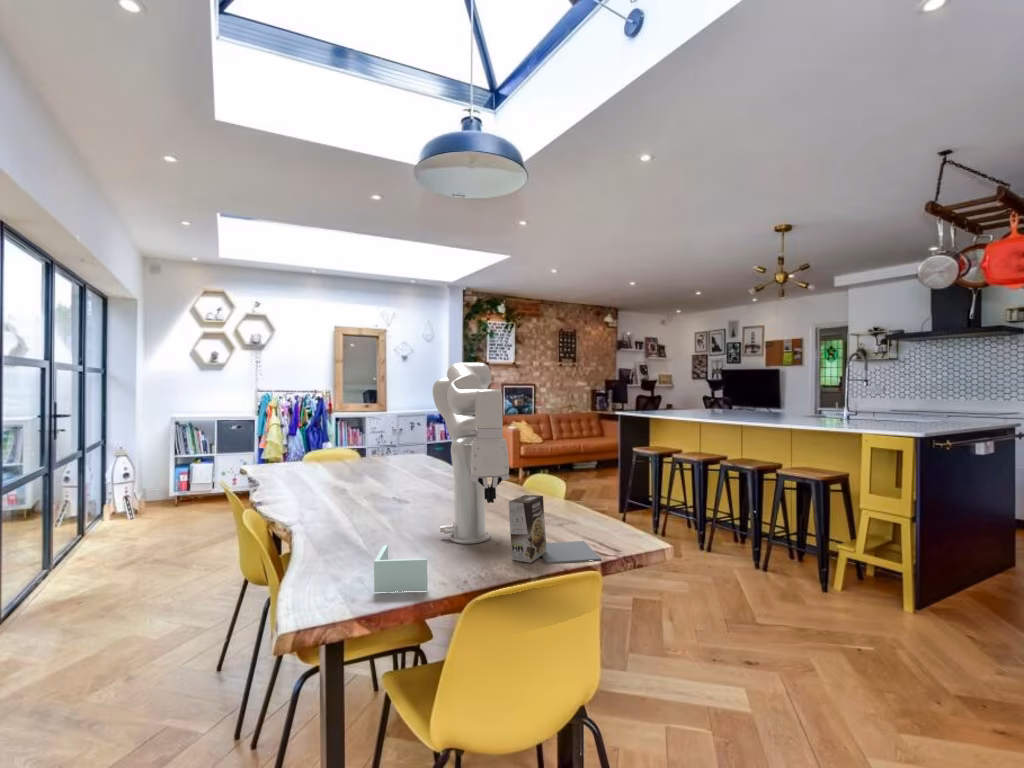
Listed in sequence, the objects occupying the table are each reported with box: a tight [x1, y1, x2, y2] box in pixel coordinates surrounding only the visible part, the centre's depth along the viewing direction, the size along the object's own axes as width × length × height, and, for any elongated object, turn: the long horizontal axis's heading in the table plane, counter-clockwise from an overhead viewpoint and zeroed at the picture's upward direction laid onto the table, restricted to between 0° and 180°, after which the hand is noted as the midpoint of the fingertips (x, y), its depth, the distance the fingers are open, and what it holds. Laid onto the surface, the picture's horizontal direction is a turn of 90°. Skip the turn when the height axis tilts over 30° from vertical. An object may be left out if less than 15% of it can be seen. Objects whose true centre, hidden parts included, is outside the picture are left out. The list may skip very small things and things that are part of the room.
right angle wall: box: [373, 544, 428, 592], centre depth 123 cm, size 12×12×8 cm
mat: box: [541, 540, 602, 565], centre depth 144 cm, size 15×16×1 cm
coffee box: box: [508, 494, 547, 563], centre depth 140 cm, size 9×6×16 cm
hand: (490, 501), depth 138 cm, fingers closed
